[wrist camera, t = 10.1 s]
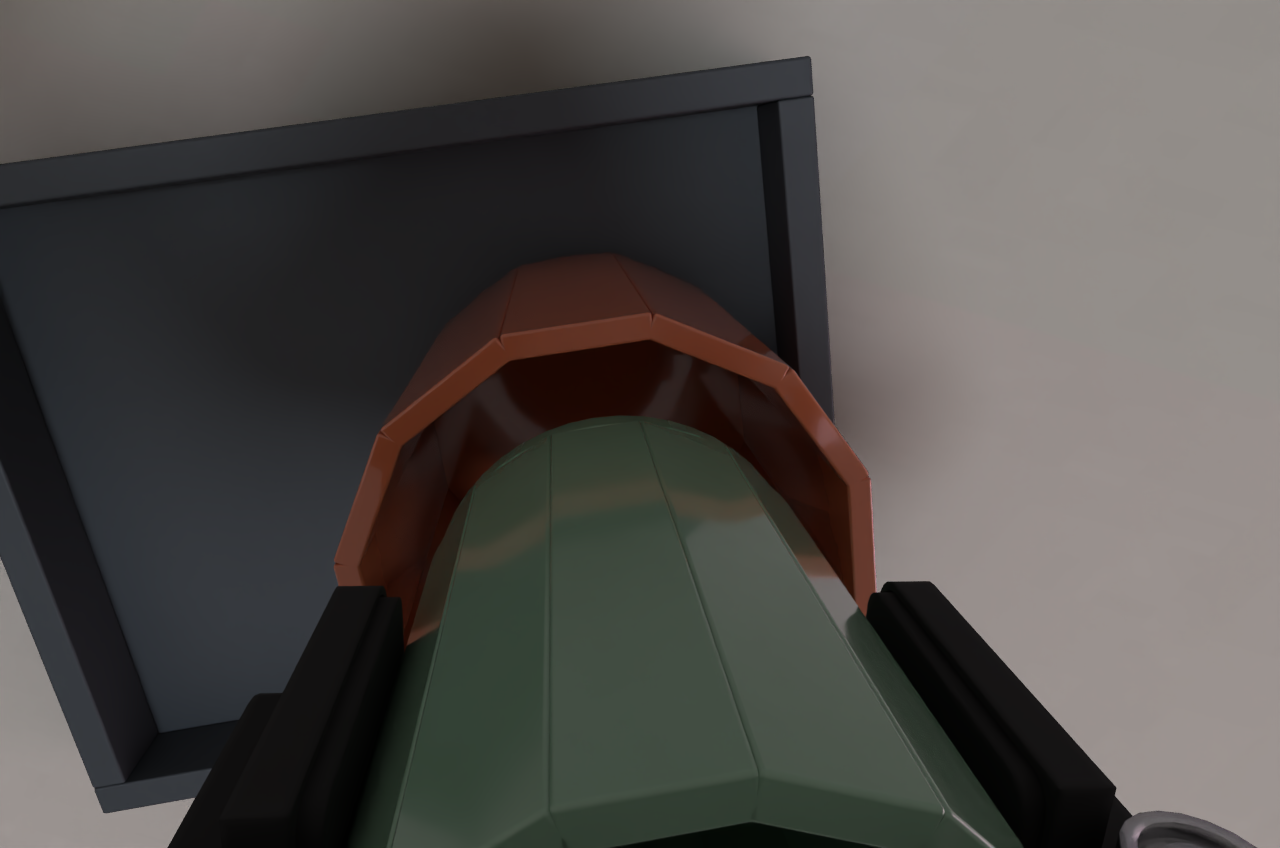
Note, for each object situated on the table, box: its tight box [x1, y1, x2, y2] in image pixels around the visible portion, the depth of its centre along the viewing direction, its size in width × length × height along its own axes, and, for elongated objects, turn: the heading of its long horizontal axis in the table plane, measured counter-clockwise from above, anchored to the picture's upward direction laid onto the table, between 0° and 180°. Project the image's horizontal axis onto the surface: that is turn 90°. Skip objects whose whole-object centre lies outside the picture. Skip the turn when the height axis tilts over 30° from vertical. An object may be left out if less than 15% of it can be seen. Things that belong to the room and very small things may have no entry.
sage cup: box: [346, 415, 1024, 848], centre depth 10 cm, size 6×6×8 cm
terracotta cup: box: [333, 252, 877, 653], centre depth 18 cm, size 8×8×9 cm
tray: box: [0, 56, 835, 813], centre depth 21 cm, size 16×20×3 cm
